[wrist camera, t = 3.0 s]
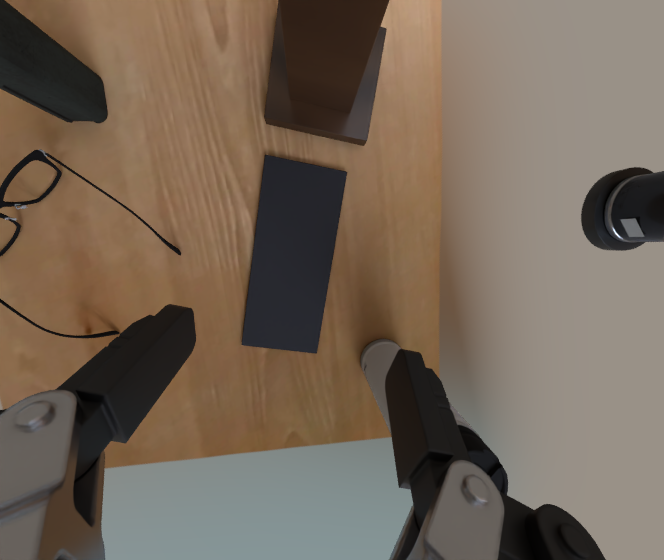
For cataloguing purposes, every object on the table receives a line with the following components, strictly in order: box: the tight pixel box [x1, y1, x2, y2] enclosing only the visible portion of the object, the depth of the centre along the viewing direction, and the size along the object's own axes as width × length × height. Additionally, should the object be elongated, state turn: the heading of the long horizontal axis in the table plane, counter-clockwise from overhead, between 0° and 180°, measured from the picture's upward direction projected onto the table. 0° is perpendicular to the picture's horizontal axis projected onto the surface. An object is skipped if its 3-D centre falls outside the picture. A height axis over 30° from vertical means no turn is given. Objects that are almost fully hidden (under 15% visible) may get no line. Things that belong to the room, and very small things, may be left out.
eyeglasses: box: [0, 149, 181, 338], centre depth 28 cm, size 16×16×4 cm
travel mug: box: [360, 339, 508, 495], centre depth 26 cm, size 6×7×20 cm
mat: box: [242, 155, 347, 353], centre depth 32 cm, size 24×10×1 cm, turn 171°
